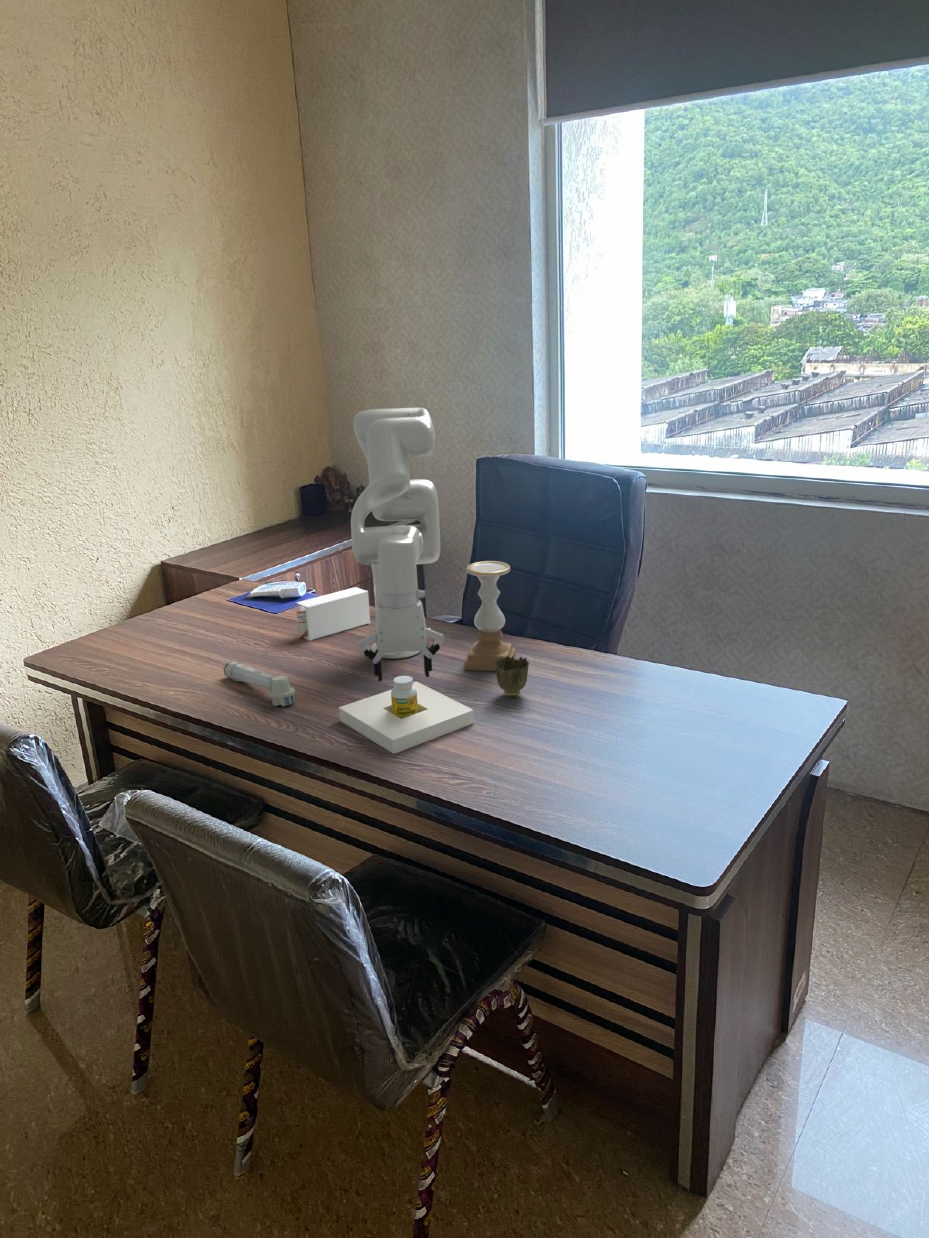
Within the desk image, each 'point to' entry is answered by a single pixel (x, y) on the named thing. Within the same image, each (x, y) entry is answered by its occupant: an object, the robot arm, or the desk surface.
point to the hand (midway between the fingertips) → (403, 676)
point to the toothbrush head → (262, 682)
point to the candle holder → (488, 619)
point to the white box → (333, 613)
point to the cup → (511, 675)
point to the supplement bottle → (404, 697)
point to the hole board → (406, 719)
